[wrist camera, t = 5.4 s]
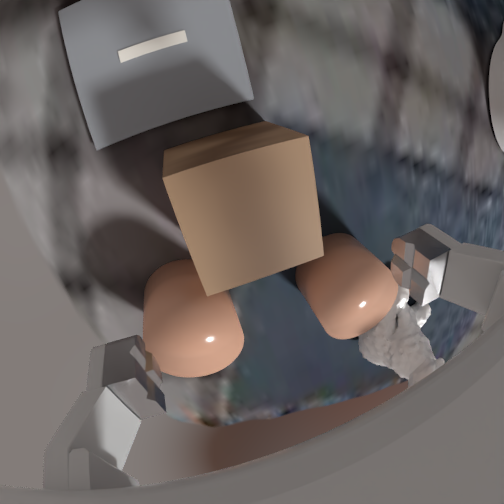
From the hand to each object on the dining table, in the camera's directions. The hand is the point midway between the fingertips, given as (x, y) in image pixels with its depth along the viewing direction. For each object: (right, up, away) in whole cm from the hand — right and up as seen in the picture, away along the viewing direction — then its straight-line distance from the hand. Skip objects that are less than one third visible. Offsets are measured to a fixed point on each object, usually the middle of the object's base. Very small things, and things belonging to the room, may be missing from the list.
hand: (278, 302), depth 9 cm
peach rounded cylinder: (-5, -2, +12) cm, 14 cm away
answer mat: (-6, +12, +4) cm, 14 cm away
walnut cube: (-2, +6, +9) cm, 11 cm away
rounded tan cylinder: (+5, 0, +15) cm, 16 cm away
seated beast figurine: (+13, -5, +20) cm, 25 cm away
